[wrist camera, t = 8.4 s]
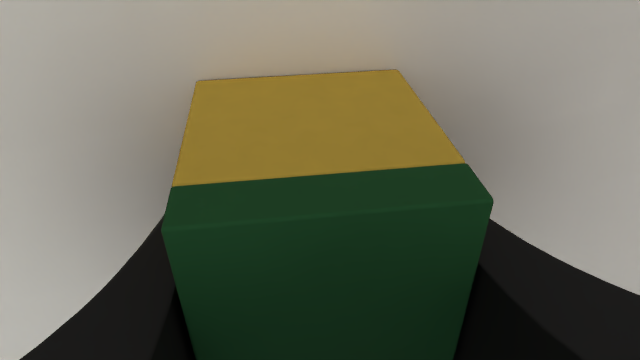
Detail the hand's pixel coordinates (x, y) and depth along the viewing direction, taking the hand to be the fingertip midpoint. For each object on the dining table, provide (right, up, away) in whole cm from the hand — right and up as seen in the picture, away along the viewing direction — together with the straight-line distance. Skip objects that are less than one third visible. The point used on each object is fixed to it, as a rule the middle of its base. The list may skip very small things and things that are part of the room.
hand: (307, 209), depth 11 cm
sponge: (0, 0, +1) cm, 1 cm away
